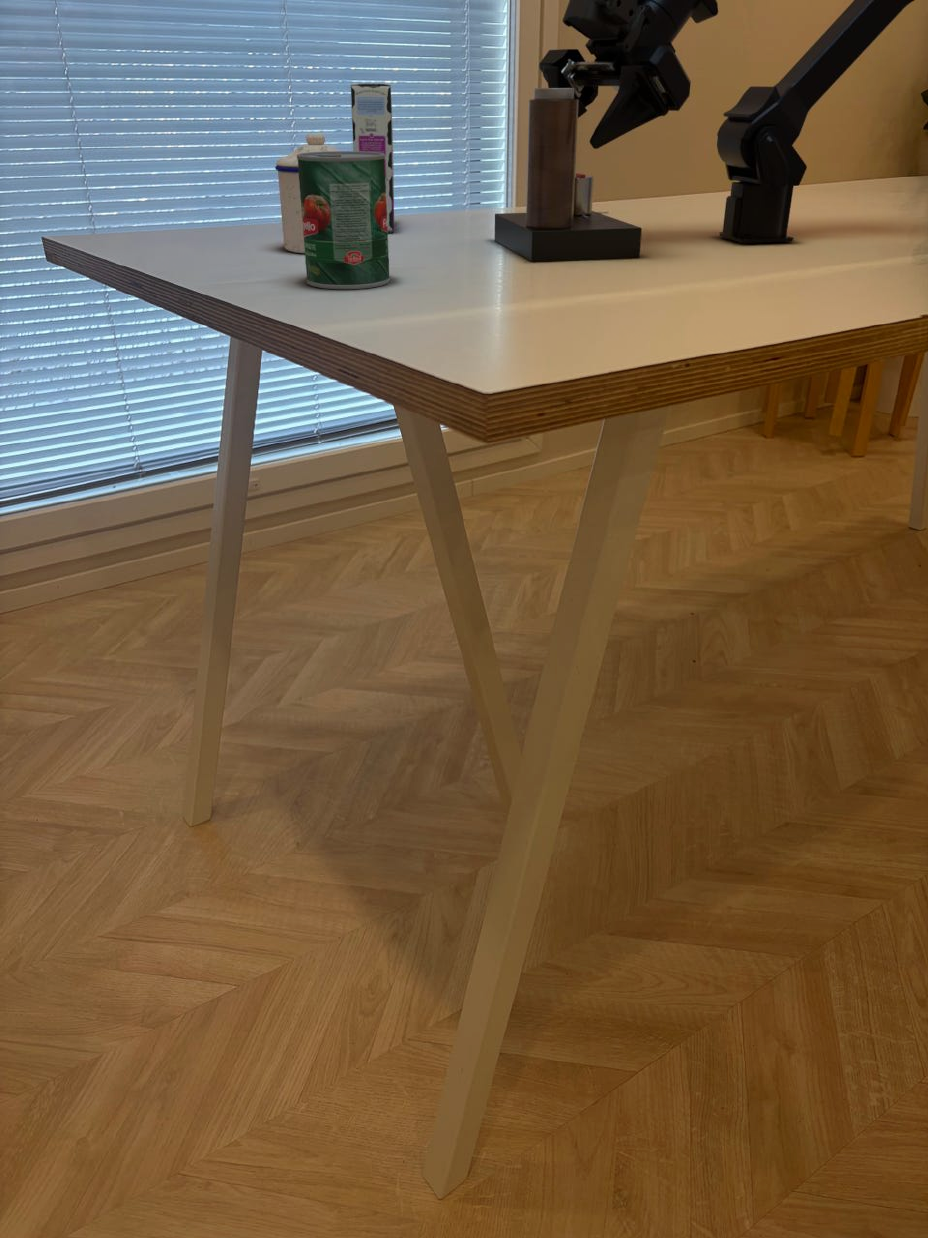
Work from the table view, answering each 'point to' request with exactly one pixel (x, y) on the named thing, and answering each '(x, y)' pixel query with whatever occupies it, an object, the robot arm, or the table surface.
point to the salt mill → (551, 158)
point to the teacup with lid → (295, 192)
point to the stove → (569, 238)
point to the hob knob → (583, 194)
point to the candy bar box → (375, 131)
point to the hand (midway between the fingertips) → (564, 143)
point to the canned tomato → (344, 219)
